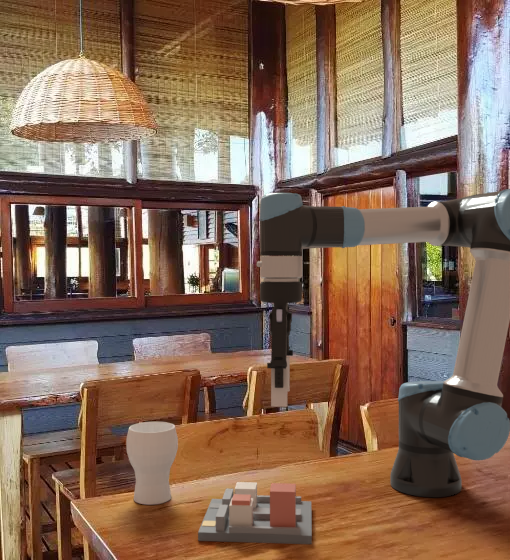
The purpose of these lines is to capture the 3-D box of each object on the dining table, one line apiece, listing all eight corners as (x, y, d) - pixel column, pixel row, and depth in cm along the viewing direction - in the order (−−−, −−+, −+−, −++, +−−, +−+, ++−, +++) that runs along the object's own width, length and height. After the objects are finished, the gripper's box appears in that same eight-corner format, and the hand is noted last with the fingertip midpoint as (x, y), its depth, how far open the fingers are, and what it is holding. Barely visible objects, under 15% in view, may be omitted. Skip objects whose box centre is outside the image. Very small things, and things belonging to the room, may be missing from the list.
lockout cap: (271, 520, 125) (271, 483, 125) (295, 521, 125) (295, 483, 124) (269, 530, 121) (269, 491, 120) (295, 531, 120) (295, 492, 120)
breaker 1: (257, 502, 134) (257, 482, 134) (255, 509, 130) (255, 489, 130) (236, 501, 134) (236, 481, 134) (234, 509, 130) (234, 488, 130)
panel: (311, 508, 135) (311, 488, 135) (311, 544, 118) (311, 521, 118) (211, 506, 137) (211, 486, 137) (198, 540, 120) (198, 518, 120)
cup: (168, 509, 135) (168, 434, 135) (118, 505, 137) (117, 432, 137) (184, 491, 145) (184, 422, 145) (137, 488, 148) (137, 419, 147)
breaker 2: (253, 519, 125) (253, 494, 125) (251, 528, 121) (251, 501, 121) (231, 519, 125) (231, 493, 125) (229, 527, 121) (229, 501, 121)
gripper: (264, 278, 134) (264, 385, 135) (254, 282, 109) (254, 413, 110) (302, 278, 133) (302, 385, 134) (300, 282, 109) (300, 413, 109)
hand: (280, 398), depth 122 cm, fingers open, 13 cm apart
